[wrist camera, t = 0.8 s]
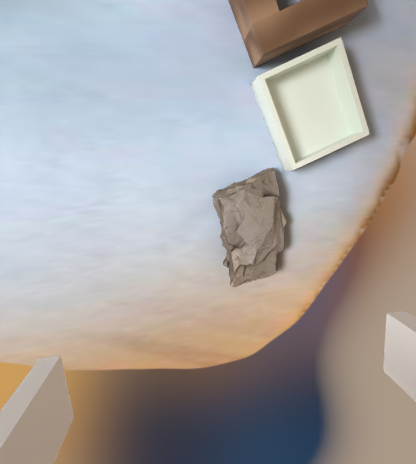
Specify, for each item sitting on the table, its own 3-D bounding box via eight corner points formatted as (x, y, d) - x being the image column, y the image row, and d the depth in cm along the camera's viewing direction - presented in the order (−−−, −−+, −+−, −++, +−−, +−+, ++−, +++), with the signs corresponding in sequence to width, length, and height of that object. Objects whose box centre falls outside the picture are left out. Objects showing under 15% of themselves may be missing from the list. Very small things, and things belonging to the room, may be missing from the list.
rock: (289, 265, 39) (302, 275, 35) (225, 279, 38) (230, 291, 35) (275, 166, 36) (287, 165, 32) (206, 181, 36) (209, 181, 32)
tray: (250, 84, 33) (257, 75, 30) (326, 48, 33) (341, 36, 30) (283, 170, 36) (292, 170, 33) (354, 137, 36) (369, 134, 33)
